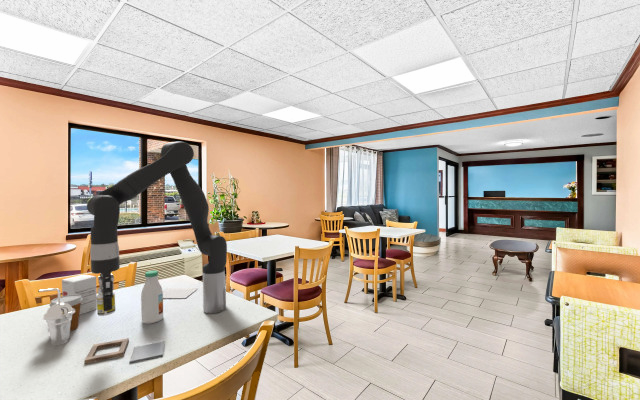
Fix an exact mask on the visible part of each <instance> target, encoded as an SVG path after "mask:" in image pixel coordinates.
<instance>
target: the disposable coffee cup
mask: <svg viewBox="0 0 640 400" xmlns="http://www.w3.org/2000/svg"><path fill="white" fill-rule="evenodd" d="M81 301H82V298H81V295H77V294H74V295H66V296H61V302H64V303H68V304H70V305H71V307H72V308H74V309H75V313H74V314H73V315H72V320H71V326H70V332H72V331H74V330H76V329H78V328H79V323H80V321H79V320H80V315H81V314H80V306H81ZM56 303H58V297H55V298H54V299H51V300H50V303H49V308H50V307H51V306H52V305H54V304H56ZM79 314H80V315H79Z"/></svg>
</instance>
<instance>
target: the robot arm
mask: <svg viewBox="0 0 640 400" xmlns="http://www.w3.org/2000/svg"><path fill="white" fill-rule="evenodd" d="M160 155H161V157H159V158H158V159H156V160H155V161H153V162H151V163H149V164H147V165H145V166H142V167H141V168H139V169H137V170H135V171H133V172H131V173H129V174H128V175H126V176H125V177H123V178H122V179H120V180H119V181H118V182H117V183H115V184H114V185H111V186H110V187H108V188H105V189H103V190H102V191H100V192H98V193H96V194H95V195H94V196H92V197H91V198H90V199H89V200H88V201H87V204H86V209H87V212H88V213H89V214H91V215H92V216H93V226H92V227H91V228H90V251H89V253H90V254H89V256H90V272H91V273H92V274H95V275H96V274H99V276H98V279H97V280H98V285H99V288H100V292H101V293H103V298H102V299H103V307H104V311H109V310H112V298H113V292H114V288H115V287H114V281H115V277H114V274H112V272H116V271H117V270H120V266H121V265H120V246H119V240H118V234H119V233H118V225H119V221H120V219H119V218H120V211H121V210H120V209H121V207H120V205H122V204H123V203H125V202H128V201H131V200H133V199H135V198H136V197H137V196H138V195H140V194H141V193H143V192H144V191H146V190H147V189H148V188H150V187H151V186H152V185H154V184H155V183H156V182H159V180H161V179H163V178H164V177H166V176H167V175H169V174H170V176H171V178H172V180H173V182H174V186H175V189H176V190H177V192H178V195H179V197H180V200H181V203H182V206H183V209H184V211H185V213H186V215H187V218H188V220H189V223H190V225H191V228H192V230H193V233H194V237H195V241H196V245H197V248H198V250H199V252H200V253H201V254H202V255H204V256H208V262H207V263H205V264H204V265H203V266H202V303H203V304H202V307H203V309H202V310H203V312H204V313H206V314H217V313H220V311H221V312H223V311H226V310H227V296H226V295H227V293H226V292H227V288H226V276H225V274H226V273H225V272H226V270H225V269H226V265H227V259H228V258H227V256H228V244H227V240H226V238H225V237H224V236H222V235H216V234H212V232H211V230H210V227H209V223H208V219H209V211H210V208H209V203H208V199H207V197H206V195H205V193H204V191H203V189H202V187H200V185H199V184H198V183H197V181H196V180H195V179H194V178H193V177H192V175H191V173H190V171H189V169H188V167H187V165H188V164H189V163H191V162H192V160H193V159H194V156H195V152H194V149H193V147H192V146H191V145H190V144H189V143H187V142H184V141H171V142H166V143H165V144H163V145H162V147H161V149H160ZM102 287H103V289H102ZM108 292H110V295H105V293H108ZM225 309H226V310H225ZM222 310H223V311H222Z"/></svg>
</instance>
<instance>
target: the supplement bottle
mask: <svg viewBox="0 0 640 400" xmlns="http://www.w3.org/2000/svg"><path fill="white" fill-rule="evenodd" d="M102 289H103V287H102ZM105 295H110V292H108V293H105ZM115 295H116V294H115V292H114V291H113V298H112V310H109V311H104V307H103V299H102V298H103V293H101V292H100V287H99V288H97V309H96V310H97V316H99V317H104V316H110V315H112V314H113V313H115V312H116V296H115Z"/></svg>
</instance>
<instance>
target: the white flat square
mask: <svg viewBox="0 0 640 400" xmlns="http://www.w3.org/2000/svg"><path fill="white" fill-rule="evenodd" d="M162 291H163V299H186V298H187V297H189V296H190V295H191V294H193V293H194V292H195V291H197V288H165V289H164V290H162Z"/></svg>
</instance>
